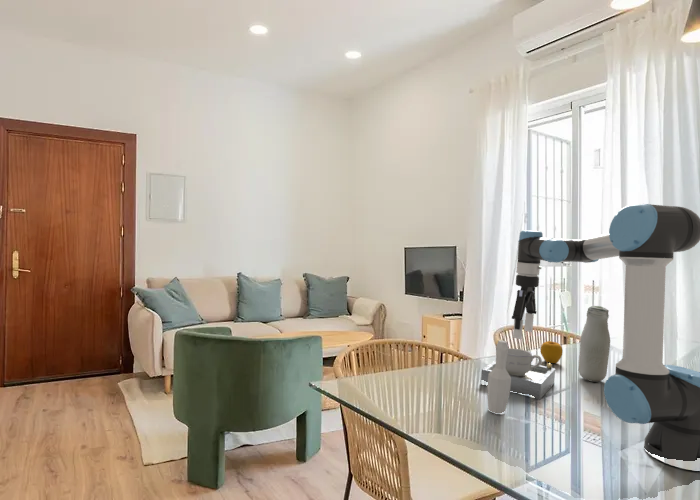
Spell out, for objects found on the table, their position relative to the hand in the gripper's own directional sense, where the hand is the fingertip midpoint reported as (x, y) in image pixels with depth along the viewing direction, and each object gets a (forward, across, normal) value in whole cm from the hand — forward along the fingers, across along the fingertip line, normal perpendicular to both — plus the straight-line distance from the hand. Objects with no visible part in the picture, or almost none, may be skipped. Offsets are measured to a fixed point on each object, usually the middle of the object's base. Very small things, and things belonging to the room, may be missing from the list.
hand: (522, 334), depth 172 cm
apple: (+18, +35, -2) cm, 40 cm away
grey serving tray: (+18, 0, 0) cm, 18 cm away
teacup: (+14, 0, 0) cm, 15 cm away
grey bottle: (+18, +24, -20) cm, 36 cm away
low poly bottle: (+19, -28, -2) cm, 34 cm away
